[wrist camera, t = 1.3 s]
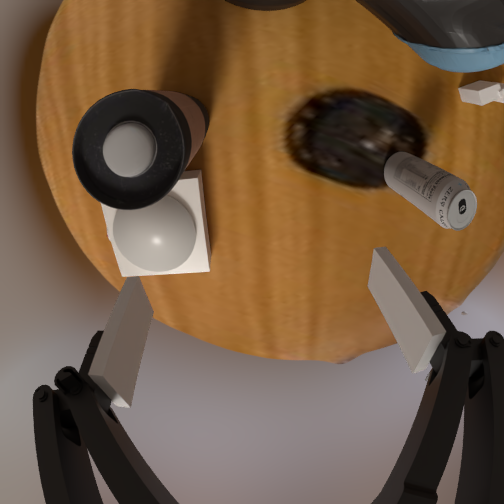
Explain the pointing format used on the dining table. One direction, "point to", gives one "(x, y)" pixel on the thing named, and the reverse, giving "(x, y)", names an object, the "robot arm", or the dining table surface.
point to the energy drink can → (431, 190)
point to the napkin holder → (482, 92)
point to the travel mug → (137, 145)
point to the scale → (163, 232)
